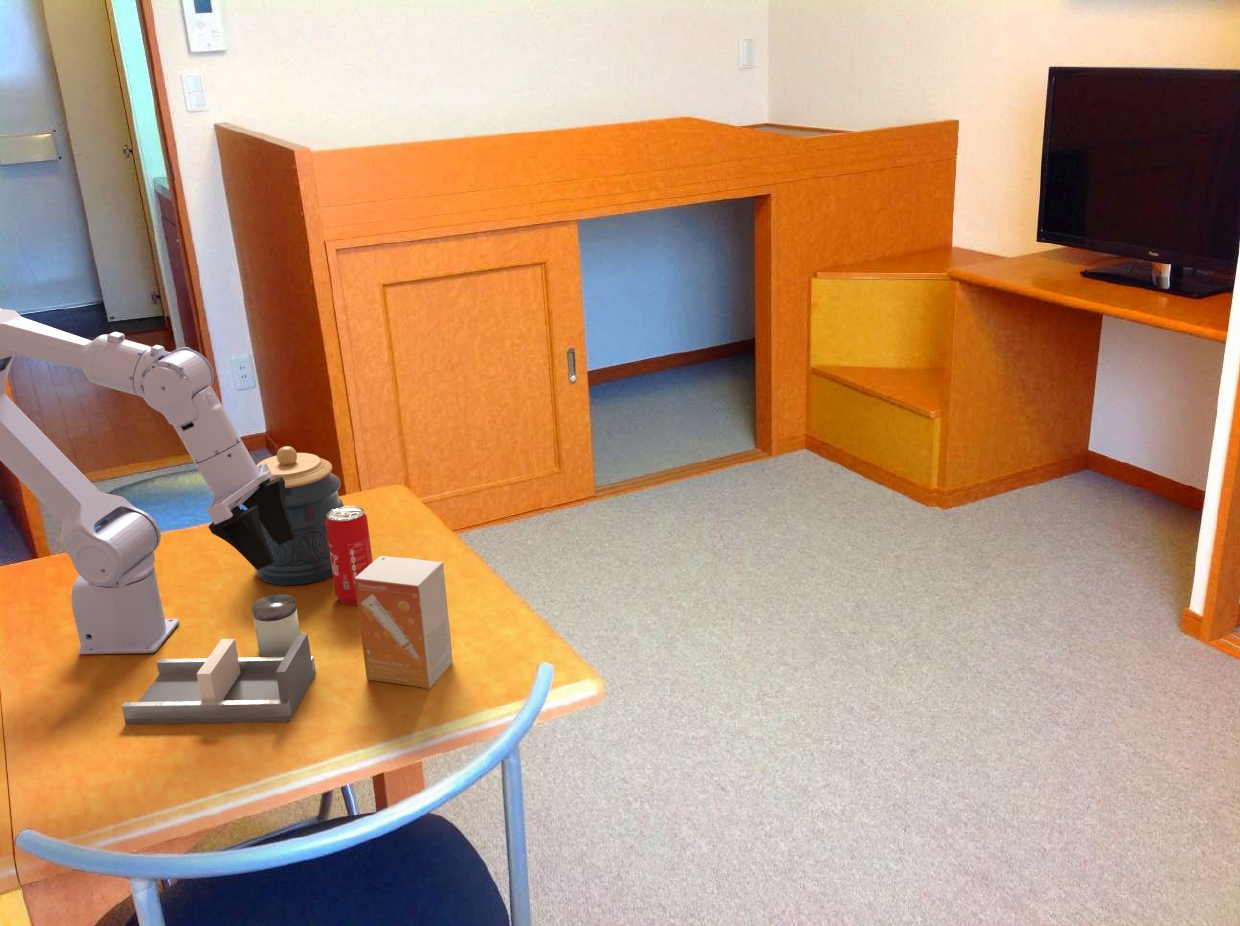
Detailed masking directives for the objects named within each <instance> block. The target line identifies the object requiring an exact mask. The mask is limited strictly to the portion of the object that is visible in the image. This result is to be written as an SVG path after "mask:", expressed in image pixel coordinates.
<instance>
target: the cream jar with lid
mask: <svg viewBox="0 0 1240 926" xmlns="http://www.w3.org/2000/svg"><path fill="white" fill-rule="evenodd" d="M297 609H298V608H297V604H296V598H295V597H294V596H292V595H290V594H284V593H283V594H281V593H280V594H271V595H270V594H269V595H267V596H265V597H261V598H260V599H257V600H256V601H255V602H253V604H251V612H252V616H253V618H252V619H253V624H254V630H255V635H256V642H257V647H258V653H259V655H260V657H285V656H286V654H287V652H288V651H289V649H290V647H291V646H292V644H293V642H294V641H295V639H296V637H297V636H298V634H301V629H300V628H301V627H300V623H299V616H298V610H297Z"/></svg>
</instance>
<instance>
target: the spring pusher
mask: <svg viewBox="0 0 1240 926" xmlns="http://www.w3.org/2000/svg"><path fill="white" fill-rule="evenodd" d="M236 643H237V642H236V638H221V639H220V641H219V642H218V643H217V645H216V646H215V648H214V649H213V651H212V652H211V654H210V655H208V657H207V658H208V659H207V660H206V662H205V663H204V664H203V666H202V667H201V668H200V670H199V671H198V673H197V679H198V684H199V690H200V695H201V700H202V701H223V699H224V698H225V696H226V695H227V693H228V692H229V690H230V689H231V687H232V685H233V684H234V682H235V681H236V679H237V678H238V676H239V675H240V673H241V671H240V666H239V660H238V658H239V655H238V649H237V645H236Z"/></svg>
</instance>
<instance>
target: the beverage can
mask: <svg viewBox="0 0 1240 926" xmlns="http://www.w3.org/2000/svg"><path fill="white" fill-rule="evenodd" d="M326 530H327V537H328V544H329V551H330V559H331V566H332V573H333V575H332V578H333V586H334V587H333V588H334V592H335V593H334V594H335V596H336V598H337V599H339V603H340V604H341V605H344V606H358V604H357V596H356V588H355V577H357V576H358V575H359V574H360V573H361V572H362V571H363V570H364V569H365V568H367V567H368V566H369V565H370V564H371V563H372V562H374V561H373V554H372V553H373V552H372V547H371V546H372V545H371V538H370V529H369V521H368V516H367V514H366V513H365V509H363V507H360V506H357V505H356V506H355V505H349V506H348V505H346V506H344V507H340V508H336V509H333V510H331V511H330V512H328V513H327V519H326Z"/></svg>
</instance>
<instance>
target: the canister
mask: <svg viewBox="0 0 1240 926" xmlns="http://www.w3.org/2000/svg"><path fill="white" fill-rule="evenodd" d="M264 463H266V464H267V466H268V468H269V469H270V471H271V473H272V475H273V477H272V478H271V479H270V481H271V480H274V479H276V478H278V477H283V479H284V481H285V499H286V506H287V510H288V514H289V518H290V521H291V525H292V528H293V532H294V536H295V537H294V539H292V540H290V541H287V542H285V543H283V544H280V545H278V544H277V543H276V542H275V541H274V540H273V539H272V537H271V536H270V535H269V533H268V532H267V530H266V529H265V527H264V526H263V525H262V523H261V522H260V524H261V528H262V531H263V534H264V537H265V539H266V541H267V543H268V546H269V548H270V550H271V552H272V555H273V559H274V562H273V563H272V564H271V565H268V566H266V567H264V568H261V569H259V570H257V569H256V568H254V570H255V572H256V575H257V577H258V578H260V580H262V581H264V582H266V583H270V584H272V585H273V584H274V585H280V586H282V585H283V586H295V585H299V586H300V585H305V584H310V583H315V582H316V583H317V582H318V581H323V580H325V579H328V578H330V577H333V573H332V566H331V559H330V551H329V544H328V537H327V530H326V519H327V513H328V512H330V511H331V510H333V509H336V508H340V507H345V506H344V505H345V504H344V503H343V500H342V499H341V498H340V496H339V492H338V491H339V489H340V488H341V479H340V477H338V476H337V475H336V474H334V473H333V472H332V470H333V465H332V463H331V462H330V461H329V460H326V459H324V458H321V457H319V456H318V455H316V454H313V453H310V452H309V453H308V452H297V451H296V450H295V448H294V447H292V446H290V445H289V446H288V445H286V446H282V447H280V448H279V449H278V450H277V452H276V455H274V456H270V457H267V458H266V459H262V460H261V461H259V462H258V463H257V464H255V465H256V467H257V466H259V465H262V464H264Z"/></svg>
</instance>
